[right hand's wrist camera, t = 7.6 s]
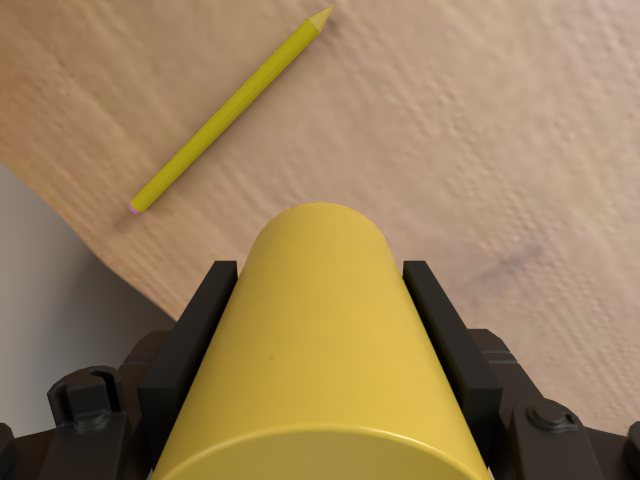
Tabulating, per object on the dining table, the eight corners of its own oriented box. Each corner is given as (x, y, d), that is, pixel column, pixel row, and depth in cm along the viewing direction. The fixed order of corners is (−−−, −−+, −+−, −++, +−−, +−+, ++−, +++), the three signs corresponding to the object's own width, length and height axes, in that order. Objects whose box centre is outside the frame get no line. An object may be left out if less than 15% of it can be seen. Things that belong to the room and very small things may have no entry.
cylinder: (219, 269, 17) (46, 574, 6) (322, 170, 15) (328, 344, 5) (318, 355, 18) (316, 720, 8) (421, 272, 17) (593, 580, 6)
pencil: (144, 212, 25) (137, 217, 25) (132, 201, 25) (125, 205, 24) (339, 14, 22) (340, 11, 21) (327, -1, 22) (327, -5, 21)
